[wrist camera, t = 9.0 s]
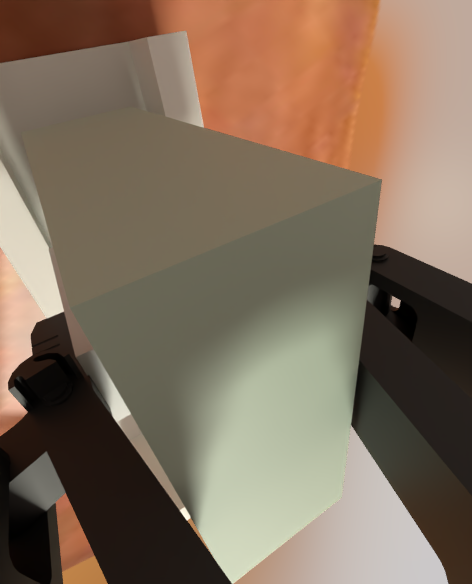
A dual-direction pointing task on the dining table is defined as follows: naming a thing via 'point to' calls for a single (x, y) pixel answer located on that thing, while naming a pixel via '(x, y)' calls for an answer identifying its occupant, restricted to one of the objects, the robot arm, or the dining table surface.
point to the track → (69, 106)
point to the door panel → (217, 309)
